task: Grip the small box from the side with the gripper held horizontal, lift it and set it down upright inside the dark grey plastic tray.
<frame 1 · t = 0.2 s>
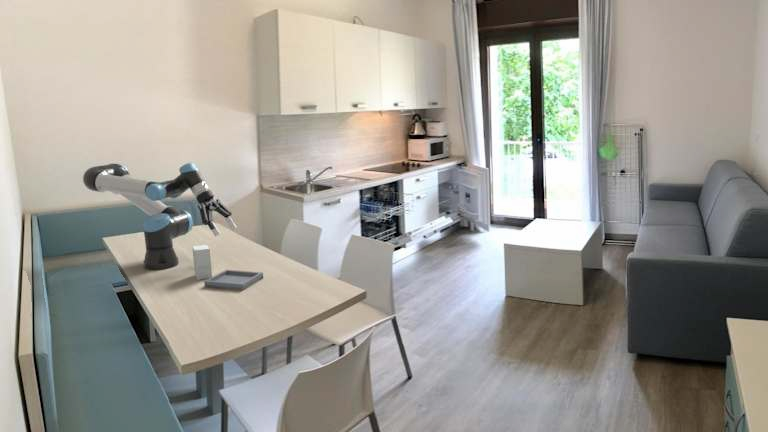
hand: (226, 232, 260), 14 cm above the table, tool tilted 35°, fingers open, 13 cm apart
tray: (234, 282, 232), on the table
small box: (203, 276, 242), on the table
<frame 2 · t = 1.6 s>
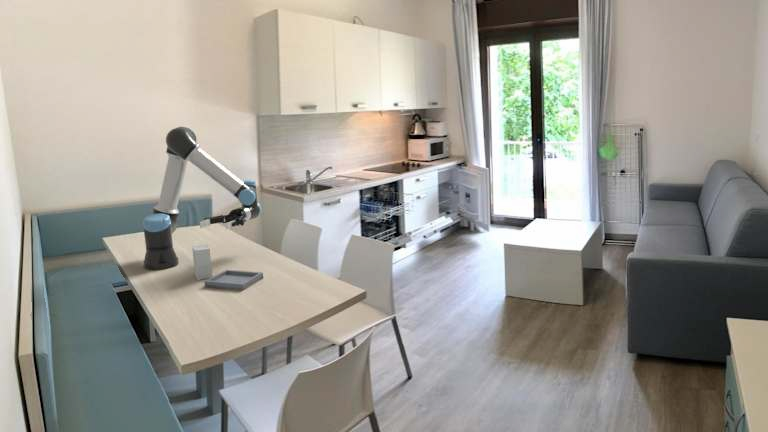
hand: (213, 225, 247), 20 cm above the table, tool horizontal, fingers open, 13 cm apart
nothing on the table moved.
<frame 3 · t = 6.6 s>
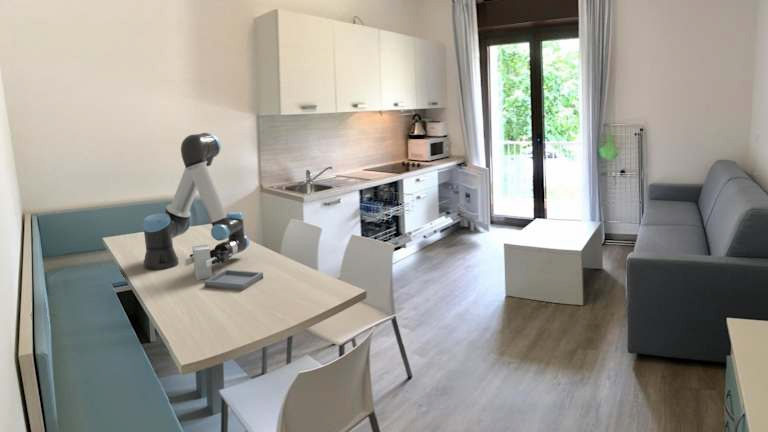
hand: (195, 263, 236), 7 cm above the table, tool horizontal, fingers closed on small box, 10 cm apart
small box: (203, 276, 242), on the table, touching gripper
when the fingers open (9 cm above the table, at t = 12.2 s): small box drops 1 cm, resting on tray.
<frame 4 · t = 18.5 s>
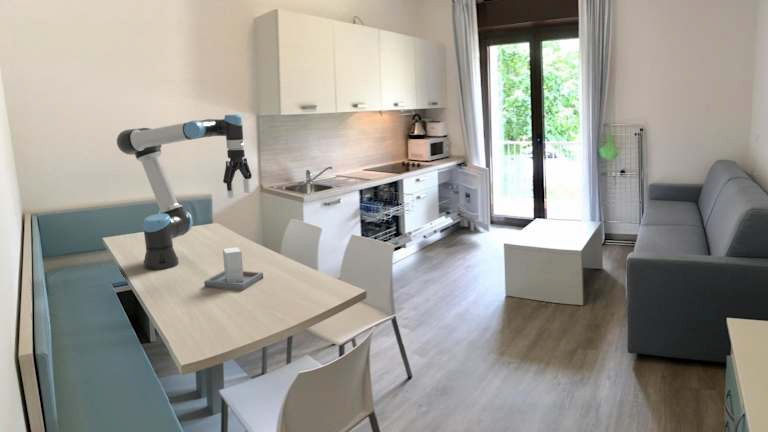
hand: (239, 195, 257), 32 cm above the table, tool pointing down, fingers open, 13 cm apart
small box: (234, 280, 232), point 1 cm above the table, touching tray
at the end: small box inside the target area on the tray (0.1 cm from its centre), point 0.8 cm above the tray's base; small box tilted 0°; the gripper is holding nothing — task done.
